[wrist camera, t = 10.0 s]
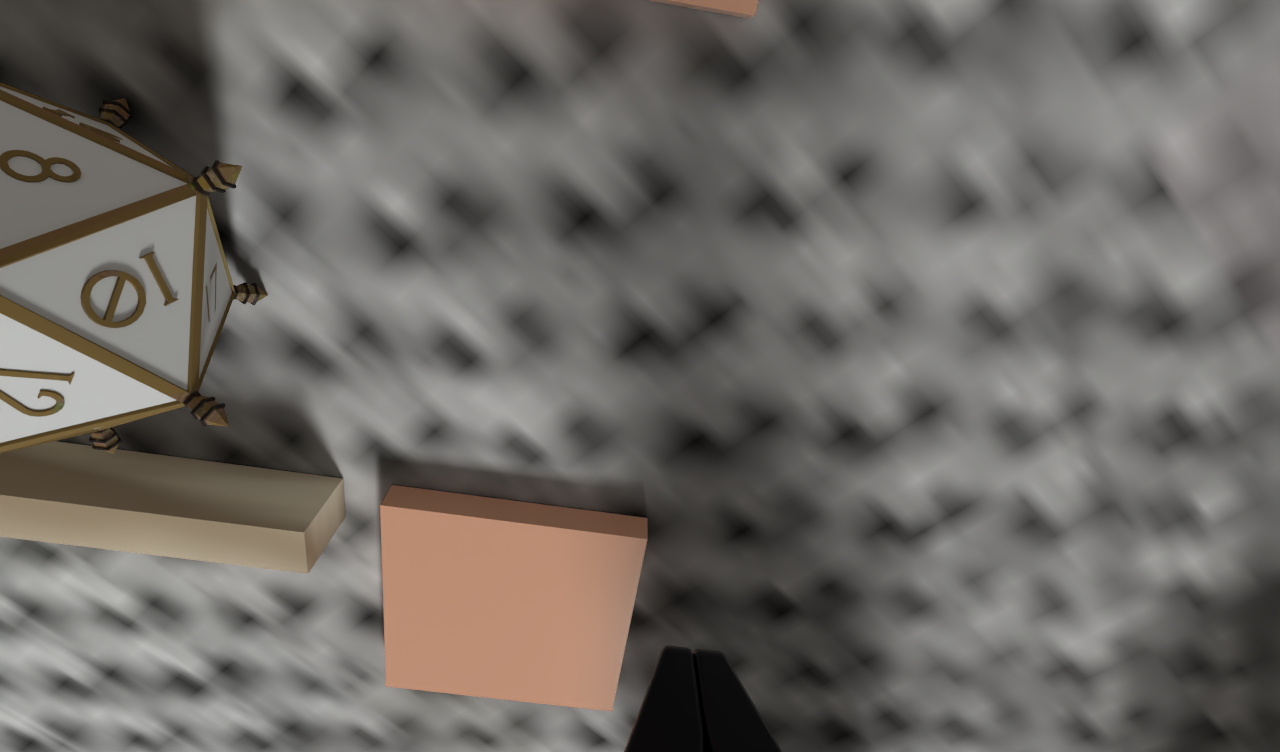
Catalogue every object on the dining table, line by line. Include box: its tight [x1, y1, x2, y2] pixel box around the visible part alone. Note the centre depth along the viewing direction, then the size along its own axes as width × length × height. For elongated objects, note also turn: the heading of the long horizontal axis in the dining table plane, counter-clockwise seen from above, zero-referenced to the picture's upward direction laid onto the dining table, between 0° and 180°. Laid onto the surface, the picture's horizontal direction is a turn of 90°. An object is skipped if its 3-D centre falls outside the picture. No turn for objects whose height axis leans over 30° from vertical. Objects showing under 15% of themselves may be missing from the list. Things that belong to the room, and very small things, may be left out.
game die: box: [0, 82, 267, 454], centre depth 13 cm, size 9×8×10 cm
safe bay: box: [0, 441, 345, 573], centre depth 15 cm, size 17×13×2 cm
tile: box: [380, 485, 648, 711], centre depth 21 cm, size 8×8×1 cm
